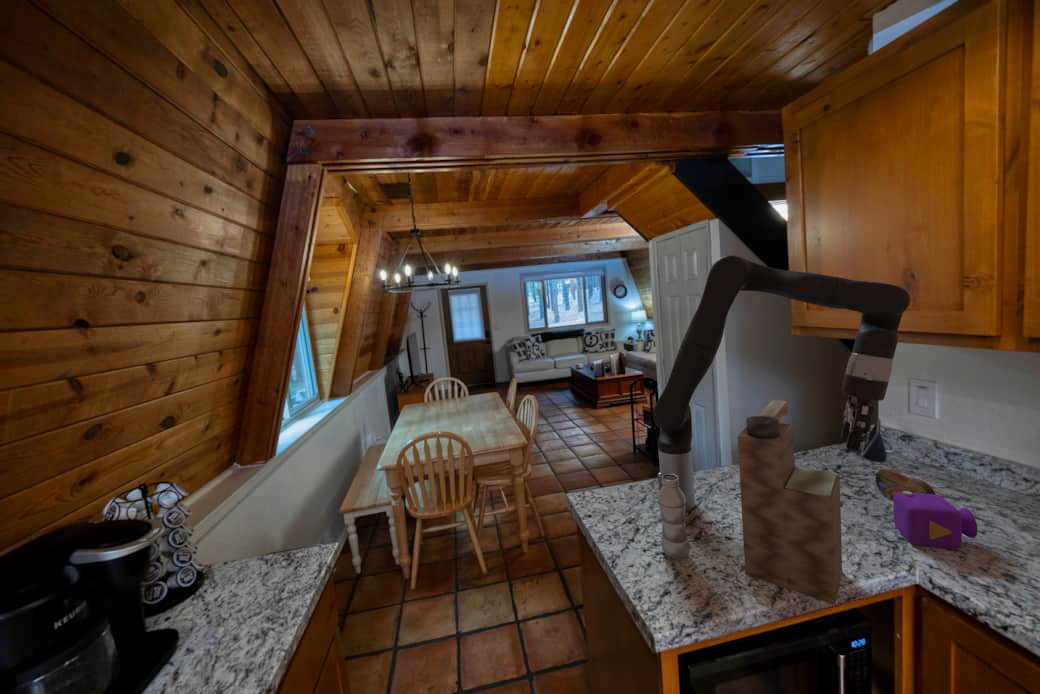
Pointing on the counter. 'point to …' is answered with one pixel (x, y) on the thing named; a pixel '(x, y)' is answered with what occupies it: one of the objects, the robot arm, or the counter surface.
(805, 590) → the step stand
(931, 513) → the toy camera
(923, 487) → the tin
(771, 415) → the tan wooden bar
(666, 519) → the plastic bottle
